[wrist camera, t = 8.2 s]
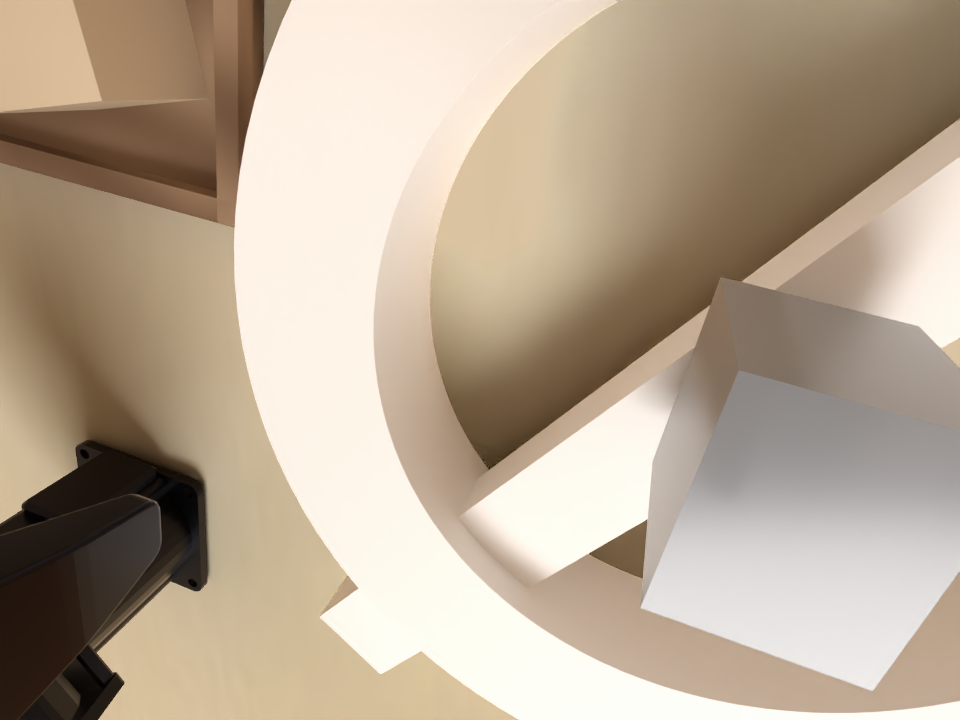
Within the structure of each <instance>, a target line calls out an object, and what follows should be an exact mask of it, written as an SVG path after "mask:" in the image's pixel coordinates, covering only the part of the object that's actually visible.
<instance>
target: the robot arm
mask: <svg viewBox="0 0 960 720" xmlns="http://www.w3.org/2000/svg"><path fill="white" fill-rule="evenodd" d="M76 456H77V463H78V468H77V469H75V470H74V471H72V472H71V473H69V474H68V475H66V476H64V477H63V478H61V479H60V480H58V481H56V482H55V483H53V484H52V485H50V486H48V487H47V488H45V489H44V490H42V491H40V492H39V493H37V494H36V495H34V496H33V497H31V498H29V499H28V500H26V501H25V502H24V503H23V504H22V510H21V511H20V512H18V513H17V514H15V515H13V516H12V517H10V518H9V519H7V520H6V521H4V522H2V523H1V524H0V720H98V719H99V717H100V716H101V715H102V713H103V712H104V711H105V709H106V708H107V707H108V705H109V704H110V702H111V701H112V700H113V698H114V697H115V696H116V694H117V693H118V692H119V690H120V689H121V687H122V686H123V685H124V681H123V680H122V678H121V677H120V676H119V675H118V674H117V672H114V673H113V672H112V671H111V670H110V668H109V667H108V666H107V665H106V664H105V663H104V661H103V660H102V659H101V658H100V657H99V655H98V654H97V652H98V651H99V650H100V649H101V648H102V647H103V646H104V645H105V644H106V643H107V642H108V641H109V640H110V639H111V638H112V637H113V636H114V635H115V634H116V633H117V632H118V631H120V630H121V629H122V628H123V627H124V626H125V625H126V624H127V623H128V622H129V621H130V620H131V619H132V618H133V617H134V616H135V615H136V614H137V613H138V612H139V611H140V610H141V609H142V608H143V607H144V606H145V605H146V604H148V603H149V602H150V601H151V600H152V599H153V598H154V597H155V596H156V595H157V594H158V593H159V592H160V591H161V590H162V589H163V588H164V587H165V586H166V585H167V584H168V583H169V582H170V581H171V582H174V583H176V584H179V585H181V586H184V587H186V588H188V589H191V590H193V591H200V590H201V589H202V588H203V587H204V586H205V585H206V584H207V558H206V531H205V504H204V489H203V487H202V485H201V484H200V483H199V482H198V481H197V480H195V479H193V478H190V477H187V476H185V475H182V474H179V473H177V472H174V471H171V470H168V469H166V468H163V467H160V466H158V465H155V464H152V463H150V462H147V461H144V460H142V459H139V458H136V457H133V456H131V455H128V454H125V453H123V452H120V451H117V450H115V449H112V448H109V447H107V446H104V445H101V444H98V443H96V442H93V441H90V440H86V441H84V442H82V443H81V444H79V445H77V447H76Z"/></svg>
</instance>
